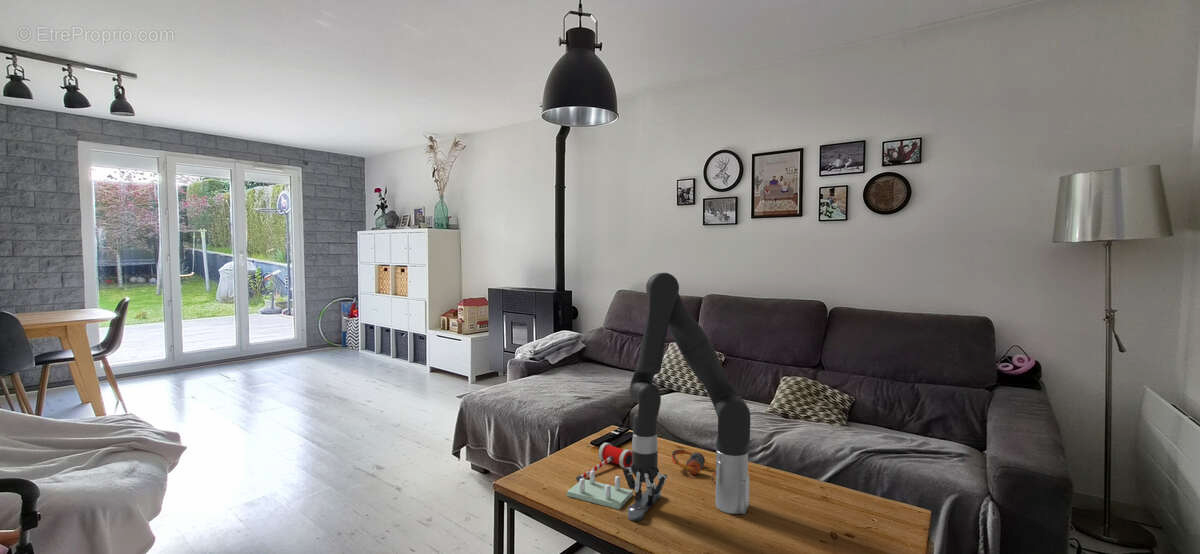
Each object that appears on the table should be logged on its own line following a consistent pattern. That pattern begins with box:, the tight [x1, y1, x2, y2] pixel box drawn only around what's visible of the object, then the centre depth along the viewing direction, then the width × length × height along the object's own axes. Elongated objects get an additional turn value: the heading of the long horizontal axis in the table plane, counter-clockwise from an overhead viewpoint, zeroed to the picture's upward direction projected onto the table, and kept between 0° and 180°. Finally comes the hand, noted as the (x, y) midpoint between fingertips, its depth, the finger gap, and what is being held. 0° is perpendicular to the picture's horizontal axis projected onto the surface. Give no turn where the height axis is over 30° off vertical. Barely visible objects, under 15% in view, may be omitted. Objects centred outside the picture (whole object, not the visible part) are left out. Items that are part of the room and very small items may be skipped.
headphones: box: [671, 449, 716, 482], centre depth 178 cm, size 17×5×20 cm
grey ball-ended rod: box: [627, 484, 662, 522], centre depth 153 cm, size 18×4×3 cm, turn 153°
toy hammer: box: [575, 442, 633, 482], centre depth 178 cm, size 23×12×6 cm, turn 139°
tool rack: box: [566, 470, 634, 510], centre depth 160 cm, size 18×10×6 cm, turn 62°
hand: (644, 504), depth 153 cm, fingers closed on grey ball-ended rod, 3 cm apart
